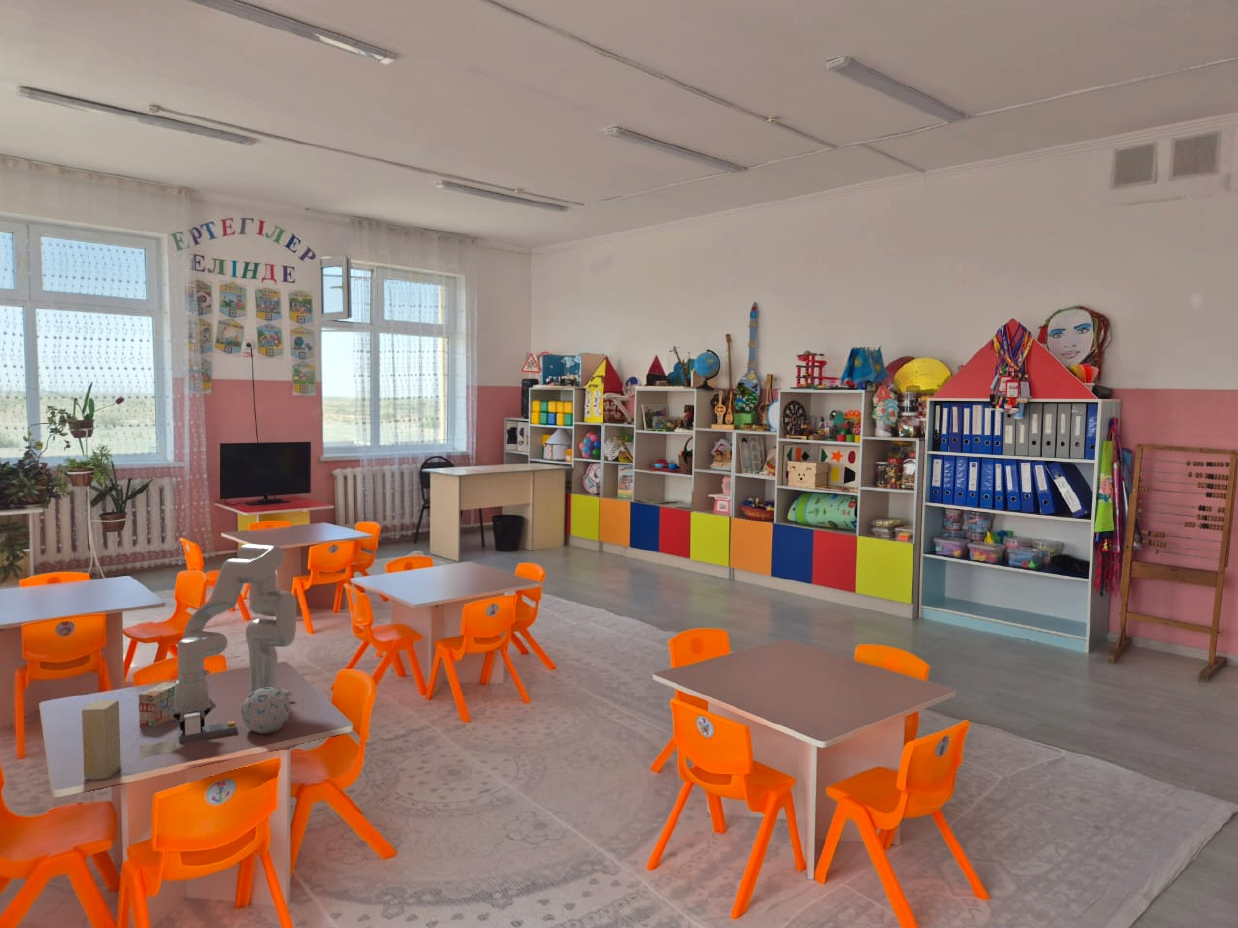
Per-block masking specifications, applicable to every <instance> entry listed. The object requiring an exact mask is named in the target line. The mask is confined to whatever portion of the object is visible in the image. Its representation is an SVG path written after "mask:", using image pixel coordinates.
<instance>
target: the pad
mask: <svg viewBox="0 0 1238 928" xmlns="http://www.w3.org/2000/svg"><path fill="white" fill-rule="evenodd" d="M174 752H178V750H177V742H176V740H175V739H174V740H167V741H162V742H155V743H150V744H145V745H140V746H139V759H140V758H145V757H146V758H147V757H152V756H156V755H157V756H158V755H163V754H169V753H174Z"/></svg>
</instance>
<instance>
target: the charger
mask: <svg viewBox="0 0 1238 928" xmlns="http://www.w3.org/2000/svg"><path fill="white" fill-rule="evenodd" d="M200 715H201V714H200V711H198V712H191V713H187V714H185V715H184V719H185V735H191V734H197V733H201V726H200Z"/></svg>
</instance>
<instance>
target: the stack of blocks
mask: <svg viewBox="0 0 1238 928" xmlns="http://www.w3.org/2000/svg"><path fill="white" fill-rule="evenodd" d="M175 683H176V682H165V681H164V682H162V683H159V684H158V685H156V686H154V687H152V688H149V689H146V690H145V691H142V692H139V694H138V711H139V713H138V714H139V721H138V722H139V726H141V727H152V728H153V727H155V728H156V727H158V726H160V725H162V724H164V723H166V722H168V721H174V720H177V719H176V718H175V717H173V716H171V715H168V714H167V712H168V710H169V709H170V707H171V706H172V704H173V703H174V690H175ZM174 712H176V711H175V709H174ZM176 713H177V712H176ZM190 713H192V711H190V712H185V714H190ZM178 714H180V713H178Z"/></svg>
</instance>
